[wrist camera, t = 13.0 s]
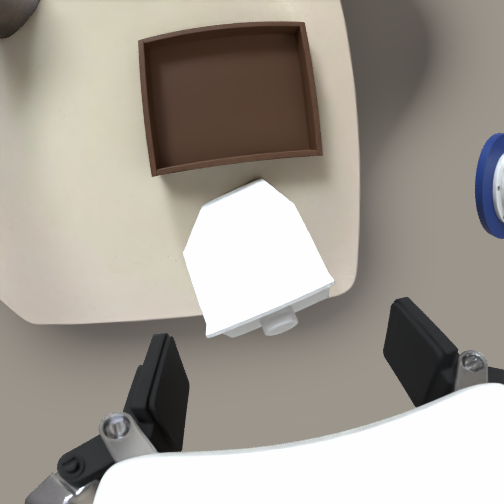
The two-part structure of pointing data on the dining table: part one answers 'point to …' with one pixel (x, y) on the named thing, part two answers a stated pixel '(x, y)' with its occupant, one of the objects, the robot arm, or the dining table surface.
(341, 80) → the dining table surface
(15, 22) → the pillar candle
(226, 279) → the milk carton
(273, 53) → the tray
